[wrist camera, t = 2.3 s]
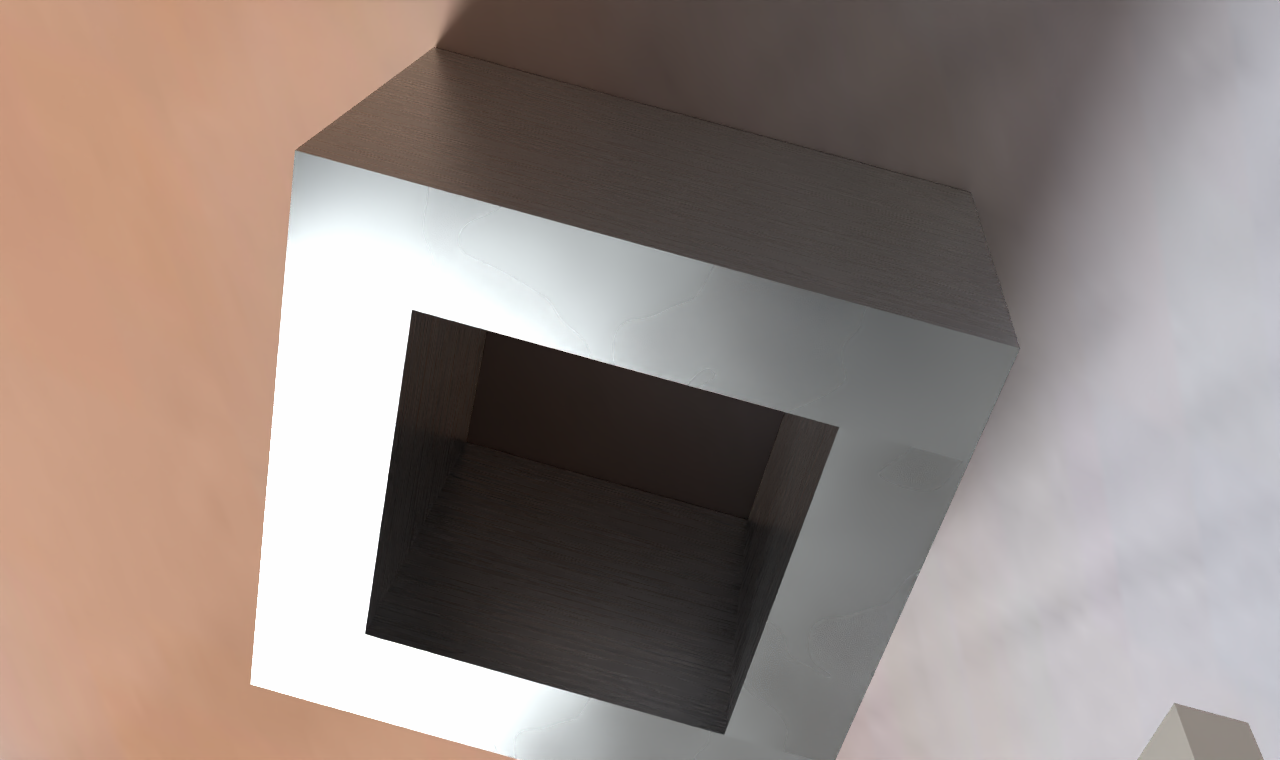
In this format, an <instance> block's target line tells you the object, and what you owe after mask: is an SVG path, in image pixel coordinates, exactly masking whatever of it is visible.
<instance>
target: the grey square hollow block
mask: <svg viewBox="0 0 1280 760" xmlns="http://www.w3.org/2000/svg"><path fill="white" fill-rule="evenodd" d="M487 330H488V331H492V332H495V333H499V334H503V335H506V336H510V337H513V338H517V339H521V340H524V341H528V342H532V343H535V344H539V345H543V346H546V347H550V348H553V349H557V350H561V351H564V352H568V353H572V354H575V355H579V356H583V357H586V358H590V359H593V360H597V361H601V362H604V363H608V364H612V365H615V366H619V367H623V368H626V369H630V370H634V371H637V372H641V373H644V374H648V375H652V376H655V377H659V378H663V379H666V380H670V381H674V382H677V383H681V384H684V385H688V386H692V387H695V388H699V389H703V390H706V391H710V392H714V393H717V394H721V395H724V396H728V397H732V398H735V399H739V400H743V401H746V402H750V403H754V404H757V405H761V406H764V407H768V408H772V409H775V410H779V411H783V412H785V413H784V416H783V419H782V422H781V425H780V428H779V430H778V433H777V436H776V439H775V442H774V445H773V448H772V451H771V454H770V457H769V460H768V462H767V465H766V468H765V471H764V474H763V477H762V480H761V483H760V486H759V489H758V492H757V494H756V497H755V500H754V503H753V506H752V509H751V512H750V515H749V518H748V520H746V519H743V518H739V517H735V516H732V515H728V514H725V513H721V512H717V511H714V510H710V509H706V508H703V507H699V506H696V505H692V504H688V503H685V502H681V501H678V500H674V499H670V498H667V497H663V496H659V495H656V494H652V493H649V492H645V491H641V490H638V489H634V488H631V487H627V486H623V485H620V484H616V483H612V482H609V481H605V480H602V479H598V478H594V477H591V476H587V475H584V474H580V473H576V472H573V471H569V470H565V469H562V468H558V467H555V466H551V465H547V464H544V463H540V462H537V461H533V460H529V459H526V458H522V457H518V456H515V455H511V454H508V453H504V452H500V451H497V450H493V449H490V448H486V447H482V446H479V445H475V444H471V443H468V442H467V436H468V431H469V426H470V420H471V415H472V409H473V404H474V398H475V393H476V388H477V382H478V377H479V371H480V366H481V360H482V355H483V350H484V344H485V339H486V333H487ZM1019 349H1020V347H1019V343H1018V340H1017V337H1016V334H1015V331H1014V328H1013V324H1012V321H1011V318H1010V315H1009V312H1008V309H1007V306H1006V302H1005V299H1004V296H1003V293H1002V290H1001V287H1000V283H999V280H998V277H997V274H996V271H995V268H994V264H993V261H992V258H991V255H990V252H989V249H988V245H987V242H986V239H985V236H984V233H983V230H982V226H981V223H980V220H979V217H978V214H977V211H976V207H975V204H974V201H973V198H972V195H971V193H970V192H966V191H963V190H959V189H955V188H952V187H948V186H944V185H941V184H937V183H933V182H930V181H926V180H922V179H918V178H915V177H911V176H907V175H904V174H900V173H896V172H893V171H889V170H885V169H882V168H878V167H874V166H870V165H867V164H863V163H859V162H856V161H852V160H848V159H845V158H841V157H837V156H834V155H830V154H826V153H823V152H819V151H815V150H811V149H808V148H804V147H800V146H797V145H793V144H789V143H786V142H782V141H778V140H775V139H771V138H767V137H764V136H760V135H756V134H752V133H749V132H745V131H741V130H738V129H734V128H730V127H727V126H723V125H719V124H716V123H712V122H708V121H705V120H701V119H697V118H693V117H690V116H686V115H682V114H679V113H675V112H671V111H668V110H664V109H660V108H657V107H653V106H649V105H645V104H642V103H638V102H634V101H631V100H627V99H623V98H620V97H616V96H612V95H609V94H605V93H601V92H598V91H594V90H590V89H586V88H583V87H579V86H575V85H572V84H568V83H564V82H561V81H557V80H553V79H550V78H546V77H542V76H539V75H535V74H531V73H527V72H524V71H520V70H516V69H513V68H509V67H505V66H502V65H498V64H494V63H491V62H487V61H483V60H479V59H476V58H472V57H468V56H465V55H461V54H457V53H454V52H450V51H446V50H443V49H439V48H435V47H434V48H432V49H431V50H430V51H428V52H427V53H426V54H424V55H423V56H422V57H420V58H419V59H418V60H416V61H415V62H414V63H412V64H411V65H410V66H408V67H407V68H405V69H404V70H403V71H401V72H400V73H399V74H397V75H396V76H395V77H393V78H392V79H391V80H389V81H388V82H387V83H385V84H384V85H383V86H381V87H380V88H379V89H377V90H376V91H374V92H373V93H372V94H370V95H369V96H368V97H366V98H365V99H364V100H362V101H361V102H360V103H358V104H357V105H356V106H354V107H353V108H352V109H350V110H349V111H347V112H346V113H345V114H343V115H342V116H341V117H339V118H338V119H337V120H335V121H334V122H333V123H331V124H330V125H329V126H327V127H326V128H325V129H323V130H322V131H320V132H319V133H318V134H316V135H315V136H314V137H312V138H311V139H310V140H308V141H307V142H306V143H304V144H303V145H302V146H300V147H299V148H298V149H296V150H295V158H294V170H293V182H292V194H291V206H290V218H289V230H288V242H287V254H286V266H285V278H284V290H283V302H282V314H281V326H280V338H279V350H278V362H277V374H276V386H275V398H274V410H273V422H272V434H271V446H270V459H269V471H268V483H267V495H266V507H265V519H264V531H263V543H262V555H261V567H260V579H259V591H258V603H257V615H256V627H255V639H254V651H253V663H252V675H251V684H252V685H256V686H259V687H263V688H266V689H270V690H273V691H277V692H281V693H284V694H288V695H291V696H295V697H298V698H302V699H305V700H309V701H313V702H316V703H320V704H323V705H327V706H330V707H334V708H337V709H341V710H345V711H348V712H352V713H355V714H359V715H362V716H366V717H370V718H373V719H377V720H380V721H384V722H387V723H391V724H394V725H398V726H402V727H405V728H409V729H412V730H416V731H419V732H423V733H426V734H430V735H434V736H437V737H441V738H444V739H448V740H451V741H455V742H459V743H462V744H466V745H469V746H473V747H476V748H480V749H483V750H487V751H491V752H494V753H498V754H501V755H505V756H508V757H512V758H515V759H519V760H836V757H837V755H838V753H839V751H840V748H841V746H842V744H843V742H844V739H845V737H846V735H847V733H848V731H849V728H850V726H851V724H852V722H853V719H854V717H855V715H856V713H857V711H858V708H859V706H860V704H861V702H862V699H863V697H864V695H865V693H866V690H867V688H868V686H869V684H870V682H871V679H872V677H873V675H874V673H875V670H876V668H877V666H878V664H879V661H880V659H881V657H882V655H883V653H884V650H885V648H886V646H887V644H888V641H889V639H890V637H891V635H892V633H893V630H894V628H895V626H896V624H897V621H898V619H899V617H900V615H901V612H902V610H903V608H904V606H905V604H906V601H907V599H908V597H909V595H910V592H911V590H912V588H913V586H914V583H915V581H916V579H917V577H918V575H919V572H920V570H921V568H922V566H923V563H924V561H925V559H926V557H927V555H928V552H929V550H930V548H931V546H932V543H933V541H934V539H935V537H936V534H937V532H938V530H939V528H940V526H941V523H942V521H943V519H944V517H945V514H946V512H947V510H948V508H949V505H950V503H951V501H952V499H953V497H954V494H955V492H956V490H957V488H958V485H959V483H960V481H961V479H962V477H963V474H964V472H965V470H966V468H967V465H968V463H969V461H970V459H971V456H972V454H973V452H974V450H975V448H976V445H977V443H978V441H979V439H980V436H981V434H982V432H983V430H984V427H985V425H986V423H987V421H988V419H989V416H990V414H991V412H992V410H993V407H994V405H995V403H996V401H997V399H998V396H999V394H1000V392H1001V390H1002V387H1003V385H1004V383H1005V381H1006V378H1007V376H1008V374H1009V372H1010V370H1011V367H1012V365H1013V363H1014V361H1015V358H1016V356H1017V354H1018V352H1019Z"/></svg>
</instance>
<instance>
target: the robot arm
mask: <svg viewBox="0 0 1280 760" xmlns="http://www.w3.org/2000/svg"><path fill="white" fill-rule="evenodd" d="M1138 760H1264V759H1263V757H1262V755H1261V752H1260V750H1259V748H1258V745H1257V743H1256V740H1255V738H1254V736H1253V733H1252V731H1251V729H1250V726H1249V724H1248V723H1247V722H1243V721H1239V720H1235V719H1232V718H1228V717H1224V716H1221V715H1217V714H1213V713H1209V712H1206V711H1202V710H1198V709H1195V708H1191V707H1187V706H1183V705H1180V704H1176V703H1174V704H1173V706H1172V707H1171V709H1170V711H1169V712H1168V714H1167V715H1166V717H1165V718H1164V720H1163V721H1162V723H1161V724H1160V726H1159V727H1158V729H1157V730H1156V732H1155V734H1154V735H1153V737H1152V738H1151V740H1150V741H1149V743H1148V744H1147V746H1146V747H1145V749H1144V750H1143V752H1142V753H1141V755H1140V756H1139V758H1138Z"/></svg>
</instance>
